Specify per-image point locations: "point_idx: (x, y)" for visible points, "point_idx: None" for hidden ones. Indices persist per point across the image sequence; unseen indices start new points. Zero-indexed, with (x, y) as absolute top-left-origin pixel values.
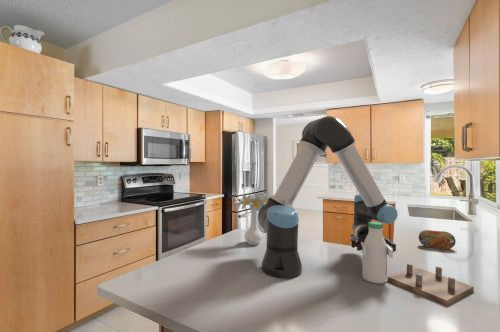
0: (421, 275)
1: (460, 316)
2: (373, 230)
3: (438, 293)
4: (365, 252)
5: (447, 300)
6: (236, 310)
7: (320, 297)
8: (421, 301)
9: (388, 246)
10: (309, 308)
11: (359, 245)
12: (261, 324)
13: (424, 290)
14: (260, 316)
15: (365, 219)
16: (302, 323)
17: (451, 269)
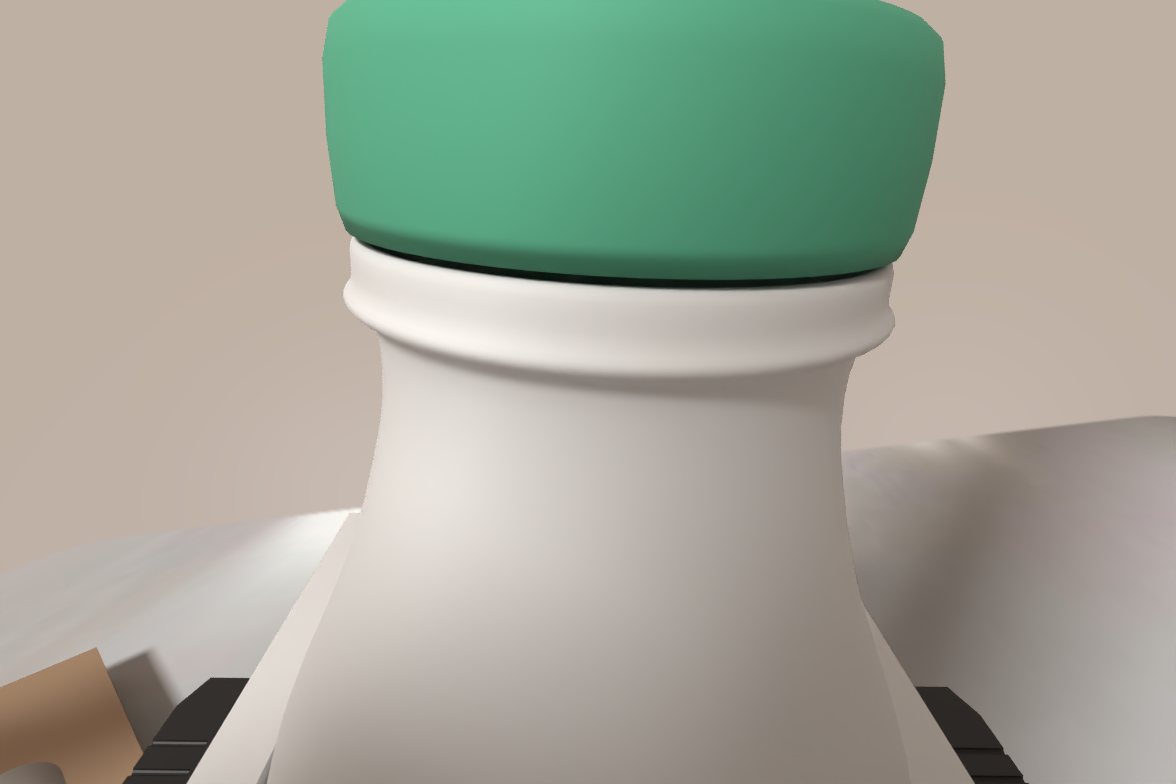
0: (1, 780)
1: (164, 586)
2: (687, 279)
3: (25, 744)
4: None
5: (84, 656)
6: (1168, 469)
7: (963, 597)
8: None
9: (291, 662)
10: (944, 515)
11: (959, 725)
12: (1016, 439)
13: (120, 776)
14: (1060, 460)
15: None
16: (906, 456)
17: None
